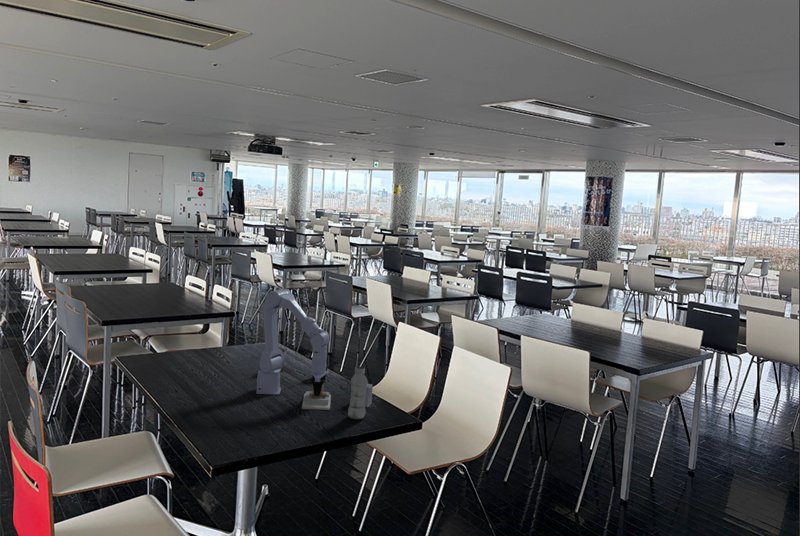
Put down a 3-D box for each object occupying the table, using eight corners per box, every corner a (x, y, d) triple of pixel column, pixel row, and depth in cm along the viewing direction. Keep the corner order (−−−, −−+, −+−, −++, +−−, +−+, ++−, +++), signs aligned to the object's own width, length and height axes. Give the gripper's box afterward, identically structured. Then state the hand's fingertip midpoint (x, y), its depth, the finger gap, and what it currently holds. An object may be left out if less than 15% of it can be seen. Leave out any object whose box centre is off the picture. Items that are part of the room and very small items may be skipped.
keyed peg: (326, 400, 241) (327, 386, 240) (311, 399, 240) (312, 385, 239) (326, 396, 245) (327, 382, 244) (312, 396, 245) (312, 382, 244)
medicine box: (371, 404, 245) (373, 384, 244) (367, 408, 241) (369, 387, 240) (354, 401, 248) (355, 381, 247) (349, 404, 244) (351, 384, 243)
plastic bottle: (347, 414, 232) (350, 365, 230) (364, 415, 233) (368, 366, 231) (347, 421, 226) (350, 370, 224) (365, 421, 227) (368, 371, 224)
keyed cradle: (301, 408, 235) (302, 401, 235) (304, 395, 250) (305, 388, 249) (329, 409, 236) (330, 402, 236) (330, 396, 251) (331, 390, 250)
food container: (279, 376, 273) (280, 355, 272) (266, 374, 274) (267, 353, 273) (289, 368, 285) (290, 348, 284) (277, 367, 286) (278, 346, 285)
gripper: (328, 366, 234) (326, 400, 236) (329, 356, 248) (327, 387, 250) (310, 366, 233) (308, 399, 235) (312, 355, 248) (310, 387, 249)
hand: (317, 393), depth 242 cm, fingers closed on keyed peg, 4 cm apart
